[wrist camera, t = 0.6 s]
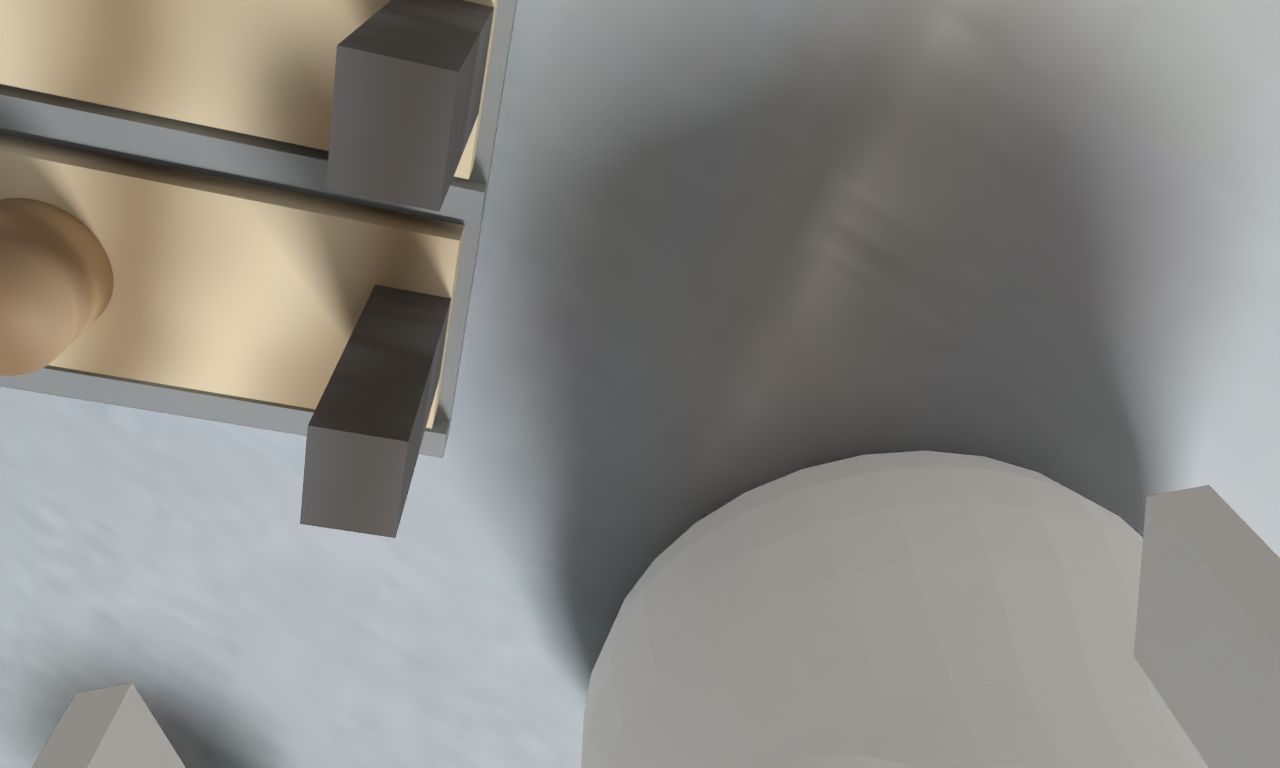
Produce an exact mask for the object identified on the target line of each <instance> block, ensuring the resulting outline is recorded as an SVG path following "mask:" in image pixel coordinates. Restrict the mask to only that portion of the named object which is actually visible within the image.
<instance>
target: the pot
mask: <svg viewBox="0 0 1280 768" xmlns="http://www.w3.org/2000/svg"><path fill="white" fill-rule="evenodd" d="M1142 546H1143V538H1142V537H1141V536H1140V535H1139V534H1138V533H1137V532H1136V531H1135V530H1134V529H1133V528H1132V527H1130V526H1129V525H1128V524H1127V523H1126V522H1125V521H1124V520H1123V519H1122V518H1121V517H1120V516H1118V515H1116V514H1114V513H1112V512H1111V511H1109V510H1107V509H1105V508H1103V507H1101V506H1099V505H1098V504H1096V503H1094V502H1092V501H1090V500H1088V499H1087V498H1085V497H1083V496H1081V495H1079V494H1077V493H1076V492H1074V491H1072V490H1070V489H1068V488H1066V487H1064V486H1063V485H1061V484H1059V483H1057V482H1055V481H1053V480H1052V479H1050V478H1048V477H1046V476H1044V475H1042V474H1040V473H1039V472H1036V471H1032V470H1029V469H1025V468H1022V467H1019V466H1015V465H1012V464H1009V463H1005V462H1002V461H998V460H995V459H992V458H988V457H985V456H975V455H965V454H955V453H945V452H935V451H911V452H897V453H882V454H867V455H860V456H856V457H852V458H847V459H843V460H839V461H834V462H830V463H826V464H822V465H817V466H813V467H809V468H804V469H801V470H799V471H796V472H794V473H791V474H789V475H786V476H784V477H781V478H779V479H776V480H774V481H772V482H769V483H767V484H764V485H762V486H759V487H757V488H754V489H752V490H749V491H747V492H745V493H743V494H742V495H740V496H738V497H737V498H735V499H733V500H732V501H730V502H729V503H727V504H725V505H724V506H722V507H720V508H719V509H717V510H716V511H714V512H712V513H711V514H709V515H707V516H706V517H704V518H702V519H701V520H699V521H698V522H696V523H695V524H694V525H692V526H691V527H690V528H689V529H688V530H687V531H686V532H685V533H683V534H682V535H681V536H680V537H679V538H678V539H677V540H676V541H674V542H673V543H672V544H671V545H670V546H669V547H668V548H667V549H665V550H664V551H663V552H662V553H661V554H660V555H659V556H658V557H656V558H655V559H654V561H653V562H652V563H651V565H650V566H649V567H648V569H647V570H646V571H645V573H644V574H643V575H642V577H641V578H640V579H639V581H638V582H637V583H636V585H635V586H634V587H633V589H632V590H631V591H630V592H629V594H628V595H627V596H626V598H625V599H624V601H623V604H622V606H621V608H620V610H619V613H618V615H617V617H616V619H615V621H614V624H613V626H612V628H611V630H610V633H609V635H608V637H607V639H606V641H605V644H604V646H603V648H602V650H601V653H600V655H599V657H598V659H597V662H596V664H595V666H594V668H593V670H592V673H591V677H590V683H589V689H588V695H587V701H586V707H585V713H584V723H583V741H582V760H581V764H582V768H1209V767H1208V766H1207V764H1206V763H1205V761H1204V760H1203V758H1202V757H1201V755H1200V754H1199V753H1198V751H1197V750H1196V748H1195V747H1194V745H1193V744H1192V742H1191V741H1190V739H1189V738H1188V736H1187V735H1186V733H1185V732H1184V730H1183V729H1182V727H1181V726H1180V724H1179V723H1178V721H1177V720H1176V718H1175V717H1174V715H1173V714H1172V712H1171V711H1170V709H1169V708H1168V706H1167V705H1166V703H1165V702H1164V700H1163V699H1162V697H1161V696H1160V694H1159V693H1158V692H1157V690H1156V689H1155V687H1154V686H1153V684H1152V683H1151V681H1150V680H1149V678H1148V677H1147V675H1146V674H1145V672H1144V671H1143V669H1142V668H1141V666H1140V665H1139V663H1138V662H1137V660H1136V659H1135V657H1134V645H1135V633H1136V620H1137V608H1138V596H1139V583H1140V571H1141V558H1142Z"/></svg>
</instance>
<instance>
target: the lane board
mask: <svg viewBox="0 0 1280 768" xmlns="http://www.w3.org/2000/svg"><path fill="white" fill-rule="evenodd" d="M516 3H517V0H498V6H497V12H496V19H495V26H494V32H493V39H492V46H491V52H490V59H489V66H488V73H487V79H486V86H485V93H484V99H483V106H482V113H481V119H480V126H479V133H478V139H477V146H476V153H475V160H474V166H473V169H472V172H471V175H470V177H469V179H464V178H459V177H453V179H452V182H451V184H450V187H449V189H448V192H447V194H446V197H445V199H444V202H443V204H442V207H441V209H440V212H438V211H433V210H428V209H423V208H418V207H413V206H408V205H403V204H398V203H393V202H388V201H383V200H378V199H373V198H368V197H363V196H358V195H353V194H348V193H343V192H338V191H333V190H328V189H326V182H327V169H328V156H329V151H327V150H322V149H317V148H312V147H307V146H303V145H298V144H293V143H288V142H283V141H278V140H273V139H268V138H263V137H258V136H254V135H249V134H244V133H239V132H234V131H229V130H224V129H219V128H214V127H209V126H205V125H200V124H195V123H190V122H185V121H180V120H175V119H170V118H165V117H160V116H156V115H151V114H146V113H141V112H136V111H131V110H126V109H121V108H116V107H111V106H107V105H102V104H97V103H92V102H87V101H82V100H77V99H72V98H67V97H63V96H58V95H53V94H48V93H43V92H38V91H33V90H28V89H23V88H18V87H14V86H9V85H4V84H0V134H5V135H10V136H15V137H20V138H25V139H30V140H35V141H40V142H45V143H50V144H55V145H60V146H66V147H71V148H76V149H81V150H86V151H91V152H96V153H101V154H106V155H111V156H116V157H121V158H126V159H132V160H137V161H142V162H147V163H152V164H157V165H162V166H167V167H172V168H177V169H182V170H187V171H192V172H197V173H203V174H208V175H213V176H218V177H223V178H228V179H233V180H238V181H243V182H248V183H253V184H258V185H263V186H268V187H274V188H279V189H284V190H289V191H294V192H299V193H304V194H309V195H314V196H319V197H324V198H329V199H334V200H339V201H345V202H350V203H355V204H360V205H365V206H370V207H375V208H380V209H385V210H390V211H395V212H400V213H405V214H411V215H416V216H421V217H426V218H431V219H436V220H441V221H446V222H451V223H456V224H461V225H465V226H464V233H463V240H462V246H461V253H460V260H459V266H458V273H457V280H456V287H455V293H454V300H453V307H452V313H451V320H450V327H449V333H448V340H447V347H446V353H445V360H444V367H443V374H442V380H441V387H440V394H439V400H438V407H437V411H436V415H435V419H434V422H433V426H432V429H431V428H426V429H425V432H424V436H423V439H422V443H421V447H420V450H419V454H422V455H428V456H434V457H440V458H443V456H444V451H445V447H446V443H447V439H448V434H449V427H450V421H451V415H452V408H453V402H454V396H455V389H456V383H457V377H458V370H459V364H460V358H461V351H462V345H463V339H464V332H465V326H466V320H467V313H468V307H469V301H470V294H471V288H472V282H473V275H474V269H475V263H476V256H477V250H478V244H479V237H480V231H481V225H482V219H483V212H484V206H485V200H486V193H487V187H488V181H489V174H490V168H491V162H492V155H493V149H494V143H495V136H496V130H497V124H498V117H499V111H500V105H501V98H502V92H503V86H504V79H505V73H506V67H507V60H508V54H509V48H510V41H511V35H512V29H513V22H514V16H515V10H516ZM0 387H7V388H13V389H19V390H25V391H31V392H38V393H44V394H50V395H56V396H62V397H69V398H75V399H81V400H87V401H93V402H99V403H106V404H112V405H118V406H124V407H130V408H137V409H143V410H149V411H155V412H161V413H168V414H174V415H180V416H186V417H192V418H199V419H205V420H211V421H217V422H223V423H230V424H236V425H242V426H248V427H254V428H261V429H267V430H273V431H279V432H285V433H292V434H298V435H304V436H307V429H308V424H309V422H310V420H311V418H312V416H313V413H314V411H315V409H310V408H304V407H298V406H292V405H286V404H280V403H274V402H267V401H261V400H255V399H249V398H243V397H237V396H231V395H225V394H219V393H213V392H207V391H201V390H195V389H189V388H183V387H177V386H171V385H165V384H159V383H153V382H147V381H141V380H135V379H129V378H123V377H116V376H110V375H104V374H98V373H92V372H86V371H80V370H74V369H68V368H62V367H56V366H50V365H47V366H45V367H44V368H42V369H40V370H37V371H35V372H32V373H28V374H24V375H15V376H2V375H0Z"/></svg>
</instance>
